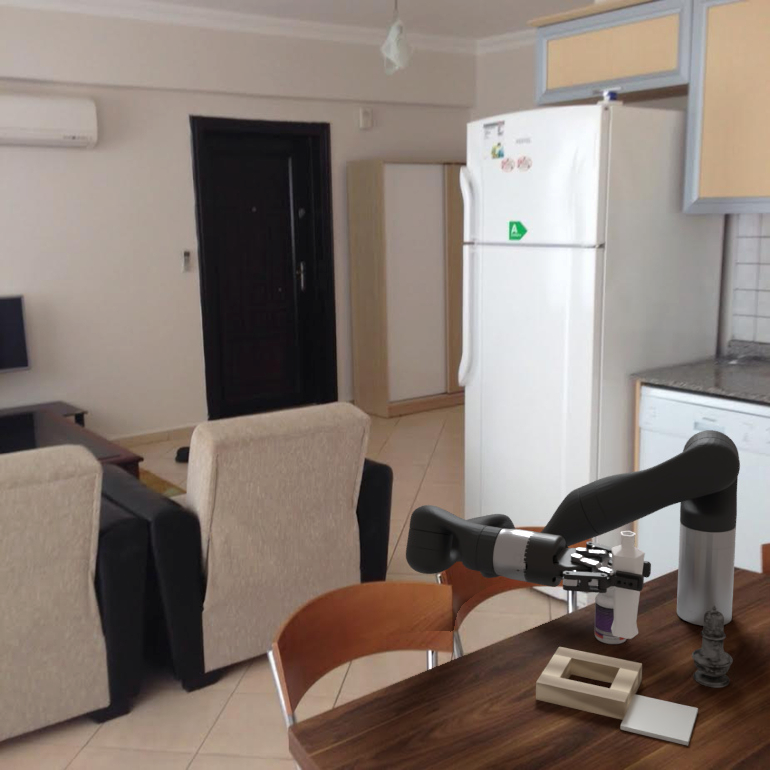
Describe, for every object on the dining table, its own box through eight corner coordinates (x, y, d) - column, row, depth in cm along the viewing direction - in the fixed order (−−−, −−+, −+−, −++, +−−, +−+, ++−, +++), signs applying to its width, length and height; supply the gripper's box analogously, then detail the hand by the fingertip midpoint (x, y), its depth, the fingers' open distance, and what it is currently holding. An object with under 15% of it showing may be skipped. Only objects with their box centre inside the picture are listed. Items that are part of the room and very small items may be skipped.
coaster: (634, 697, 128) (634, 694, 128) (697, 712, 124) (697, 708, 124) (620, 729, 120) (620, 725, 120) (688, 745, 116) (688, 741, 116)
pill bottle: (628, 646, 144) (630, 591, 142) (595, 644, 145) (596, 589, 143) (625, 631, 149) (626, 578, 147) (593, 629, 150) (594, 576, 148)
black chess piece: (735, 690, 129) (738, 615, 127) (693, 687, 131) (696, 612, 128) (727, 670, 135) (731, 598, 133) (688, 667, 136) (691, 596, 134)
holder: (559, 662, 139) (559, 646, 138) (641, 680, 133) (642, 663, 132) (535, 699, 128) (536, 682, 128) (624, 720, 122) (624, 702, 122)
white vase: (643, 628, 125) (647, 530, 122) (638, 641, 121) (642, 540, 118) (611, 622, 127) (614, 525, 124) (605, 635, 123) (608, 535, 120)
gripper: (544, 563, 136) (655, 582, 128) (513, 598, 123) (634, 622, 115) (544, 517, 134) (657, 534, 126) (513, 549, 122) (636, 570, 114)
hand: (646, 576), depth 121 cm, fingers closed on white vase, 4 cm apart
